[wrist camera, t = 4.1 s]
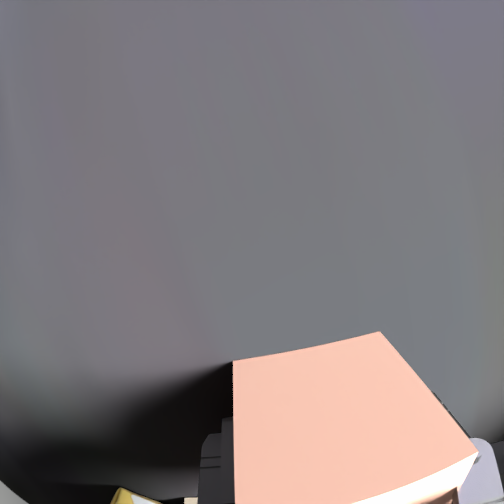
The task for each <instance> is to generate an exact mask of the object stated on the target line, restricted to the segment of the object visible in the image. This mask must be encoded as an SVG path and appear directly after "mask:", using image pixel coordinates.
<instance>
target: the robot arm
mask: <svg viewBox="0 0 504 504" xmlns="http://www.w3.org/2000/svg"><path fill="white" fill-rule="evenodd" d="M431 392H432V391H431ZM432 393H433V392H432ZM433 395H434V396H435V397H436V398H437V400H438V401H439V402H440V403H441V404H442V402H441V400H440V399H439V398H438V397H437V396H436V394H435V393H433ZM442 406H443V407H444V408H445V409H446V411H447V412H448V413H449V414H450V416H451V417H452V418H453V419H454V421H455V422H456V423H457V424H458V426H459V427H460V428H461V429H462V431H463V432H464V433H465V434H466V436H467V437H468V438H469V440H470V441H471V442H472V443H473V445H474V446H475V447H476V449H477V450H478V451H479V452H478V454H477V456H476V458H475V460H474V462H473V464H472V466H471V468H470V470H469V472H468V474H467V476H466V478H465V480H464V482H463V483H462V484H460V485H458V486H457V487H456V489H455V491H454V492H453V494H452V503H451V504H504V441H501V442H497V443H492V444H489V443H488V442H487V441H485V440H483V439H480V438H471V437H470V436H469V435H468V434H467V432H466V431H465V430H464V429H463V427H462V426H461V425H460V424H459V422H458V421H457V420H456V419H455V418H454V416H453V415H452V414H451V413H450V411H448V409H447V408H446V406H445V405H444V404H442ZM197 504H235V481H234V424H233V417H229V418H222V433H216V434H209V435H208V437H207V438H206V440H205V441H204V443H203V445H202V451H201V463H200V475H199V487H198V500H197Z"/></svg>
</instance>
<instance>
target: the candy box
mask: <svg viewBox="0 0 504 504" xmlns="http://www.w3.org/2000/svg"><path fill="white" fill-rule="evenodd" d="M110 504H162V503H159V502H157V501H154V500H151V499H149V498H146V497H144V496H141V495H138V494H136V493H133V492H131V491H128V490H126V489H124V488H119V489H118V490H117V492H116V494H115V495H114V497H113V499H112V501H111V503H110Z"/></svg>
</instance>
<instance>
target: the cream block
mask: <svg viewBox="0 0 504 504" xmlns="http://www.w3.org/2000/svg"><path fill="white" fill-rule="evenodd" d="M233 424H234V481H235V504H451V503H452V494H453V492H454V491H455V489H456V487H457V486H458V485H460V484H462V483H463V482H464V480H465V478H466V476H467V474H468V472H469V470H470V468H471V466H472V464H473V462H474V460H475V458H476V456H477V454H478V452H479V451H478V450H477V449H476V447H475V446H474V445H473V443H472V442H471V441H470V440H469V438H468V437H467V436H466V434H465V433H464V432H463V431H462V429H461V428H460V427H459V426H458V424H457V423H456V422H455V421H454V419H453V418H452V417H451V416H450V414H449V413H448V412H447V411H446V409H445V408H444V407H443V406H442V404H441V403H440V402H439V401H438V400H437V398H436V397H435V396H434V395H433V393H432V392H431V391H430V390H429V389H428V387H427V386H426V385H425V384H424V383H423V381H422V380H421V379H420V378H419V377H418V375H417V374H416V373H415V372H414V371H413V370H412V368H411V367H410V366H409V365H408V364H407V362H406V361H405V360H404V359H403V358H402V357H401V355H400V354H399V353H398V352H397V351H396V350H395V348H394V347H393V346H392V345H391V344H390V343H389V341H388V340H387V339H386V338H385V337H384V336H383V335H382V333H381V332H380V331H379V332H375V333H371V334H367V335H363V336H359V337H355V338H350V339H346V340H342V341H337V342H333V343H329V344H324V345H319V346H314V347H310V348H305V349H300V350H295V351H289V352H284V353H278V354H273V355H267V356H261V357H255V358H249V359H242V360H236V361H233Z"/></svg>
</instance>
